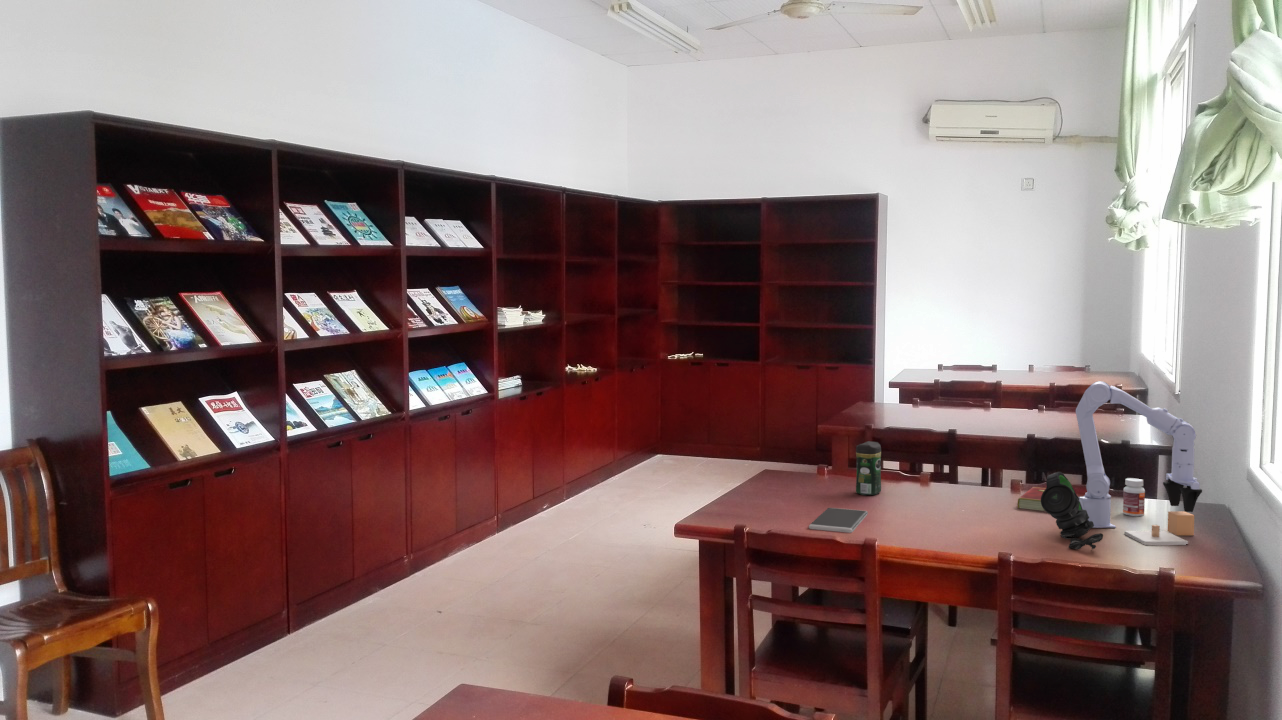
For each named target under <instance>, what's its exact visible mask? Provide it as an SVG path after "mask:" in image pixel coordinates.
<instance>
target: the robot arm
mask: <svg viewBox="0 0 1282 720" xmlns="http://www.w3.org/2000/svg"><path fill="white" fill-rule="evenodd" d="M1108 401H1110V404H1118V405H1120V404H1121V405H1123V406H1125V407H1127V408H1128V409H1130V410H1132V411H1134V412H1135V413H1138V414H1140V415H1141V416H1143V417H1145V419H1146V421H1147V424H1148V425H1150V426H1152V427H1153V428H1154V429H1156V430H1159V431H1160V432H1162V433H1163V434H1165V435H1168V436H1172V437H1173V446H1172V447H1171V452H1172V453H1171V472H1170V473H1166V474H1165V480H1166V481H1163V482H1162V485H1163V486H1164V488H1165V490H1166V494H1167V496H1168V500H1169V506H1171V507H1179V506H1180V502H1181V496H1182V500H1183V501H1182V502H1183V511H1185V512H1188V513H1193V512H1194V509H1195V507H1196V503H1197V501H1198V498H1199V497H1200V495H1201V494H1202V493H1203V489H1201V488H1200V486H1201V485H1200V482H1199V481H1198V478H1197V477H1194V476H1195V439H1196V436H1197V434H1196V430H1195V428H1194V426H1193V425H1192V424H1190V423H1189V422H1188V421H1184V419H1183V418H1182V417H1177V416H1175V415H1173V414H1172V413H1169V410H1168V408H1166V407H1163V408H1162V407H1150V406H1148V405H1147V404H1145V403H1144V402H1142V401H1141V400H1139V399H1138V398H1136V397H1134V396H1132V395H1131V394H1129V393H1128V392H1126V391H1124V390H1123V389H1120V388H1118V387H1117V386H1114V385H1110V384H1109V383H1107V382H1105V381H1103V380H1102V381H1101V380H1100V381H1095V382H1093V383H1092V384H1090V385H1089V386H1088V388H1087V389H1085V390H1084V393H1083V395H1082V397H1081V399H1080V400H1079V403H1078V404H1077V406H1076V408H1075V414H1076V421H1077V425H1078V431H1079V436H1080V440H1081V441H1080V442H1081V446H1082V450H1083V451H1082V452H1083V456H1084V461H1085V462H1084V463H1085V466H1086V477H1087V482H1086V485H1085V488H1086V491H1087V492H1085V494H1084V495H1083V496H1078V497H1079V501H1080V504H1081V506H1082V509H1083V510H1086V511H1087V513H1088V516H1089V519H1088V520H1089V521H1092V522H1093V524H1094V527H1092V528H1098V529H1101V528H1102V529H1103V528H1105V529H1106V528H1108V529H1109V528H1112V529H1115V528H1117V526H1116V525H1115V524H1112V523H1111V509H1112V507H1111V505H1112V504H1111V502H1112V501H1111V500H1112V495H1110V494H1109V492H1110V486H1111V480H1110V478H1109V477H1108V476H1107V474H1106V472H1105V468H1104V465H1103V459H1102V455H1101V449H1100V444H1099V440H1098V436H1097V430H1096V426H1095V425H1096V424H1095V419H1094V413H1095V412H1096V411H1097V410H1098V409H1099V407H1101V406H1103V405H1104V404H1106V403H1108ZM1092 528H1091V529H1092Z"/></svg>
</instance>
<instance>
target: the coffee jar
mask: <svg viewBox="0 0 1282 720" xmlns="http://www.w3.org/2000/svg"><path fill="white" fill-rule="evenodd" d="M855 455H856V479H855V480H856V481H855V493H856V494H858V495H861V496H875V495H876V496H877V495H878V494H880V493H881V492H882V477H881V476H882V473H881V472H882V471H881V470H882V467H881V459H882V458H881V457H882V447H881V444H880V443H879V442H878V441H869V440H868V441H865V442H864V443H859V444H858V445H856V447H855Z"/></svg>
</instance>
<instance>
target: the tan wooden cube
mask: <svg viewBox="0 0 1282 720" xmlns="http://www.w3.org/2000/svg"><path fill="white" fill-rule="evenodd" d="M1167 532H1169V533H1171V534H1173V535H1175V536H1194V535H1195V514H1192V513H1191V512H1185V511H1184V510H1183V511H1181V510H1180V511H1179V510H1178V511H1174V510H1172V511H1169V510H1168V511H1167Z"/></svg>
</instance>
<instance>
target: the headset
mask: <svg viewBox="0 0 1282 720" xmlns="http://www.w3.org/2000/svg"><path fill="white" fill-rule="evenodd" d="M1045 485H1046V487H1045V488H1046V489H1045V490H1044V492H1043V493H1042V496H1041V505H1042V507H1043V509H1044V510H1045V511H1044V512H1046V513H1047V514H1048V515H1050V516H1051V518H1053V519H1055V520H1056V521H1055V524H1056V526H1057V527H1058V529H1059V530H1061V531H1060V532H1059V534H1060V537H1061V538H1062V539H1065V540H1069V542H1070V543H1069V544H1068V548H1069V549H1073V550H1075V549H1077V550H1080V549H1082V548H1083V547H1084V546H1089V547H1090V548H1091V549H1092V550H1095V549H1096V548H1097V545H1096V543H1099V542H1101V541H1102V540H1103V538H1104V534H1103V533H1094V534H1092V535H1090V536H1088V537H1086V538H1084V539H1083V538H1082V539H1081V538H1080V537H1083V536H1084V535H1086V534H1087V533H1088V532H1089V531H1090V530H1091V529H1092V527H1094V524H1093V522H1092V521H1089V520H1088V519H1089V516H1088V513H1087V511H1086V510H1083V509H1082V506H1081V504H1080V501H1079V497H1080V496H1078V495H1077V493H1076V491H1075V489H1074V487H1073V485H1072V483H1071V482H1070V480H1069V479H1068V478H1067V476H1066V475H1065V474H1064V473H1063V472H1061V471H1057V472H1053V473H1050V474H1048V475H1047V476H1046V483H1045ZM1067 537H1068V538H1067Z"/></svg>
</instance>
